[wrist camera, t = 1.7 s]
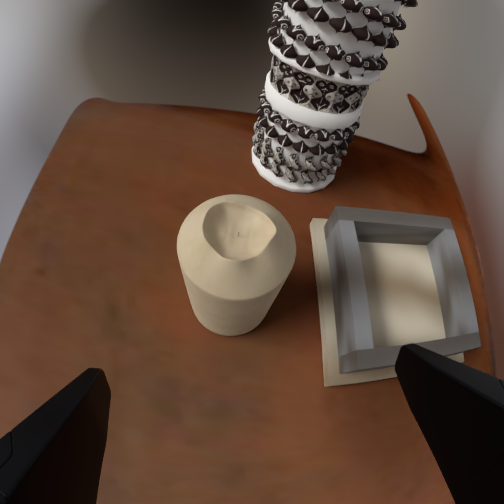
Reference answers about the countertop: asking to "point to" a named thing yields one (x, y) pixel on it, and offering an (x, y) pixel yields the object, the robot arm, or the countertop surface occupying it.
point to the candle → (234, 261)
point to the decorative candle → (319, 85)
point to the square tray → (388, 291)
